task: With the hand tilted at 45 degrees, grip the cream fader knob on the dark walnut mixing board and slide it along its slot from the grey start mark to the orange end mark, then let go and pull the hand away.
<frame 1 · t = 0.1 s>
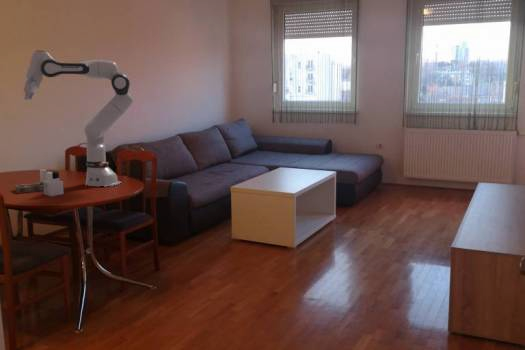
hand: (27, 99, 315), 52 cm above the table, tool tilted 20°, fingers open, 8 cm apart
mixing board: (35, 189, 311), on the table
fader: (43, 176, 313), point 7 cm above the table, slide at -5.0 cm
container: (53, 194, 300), on the table
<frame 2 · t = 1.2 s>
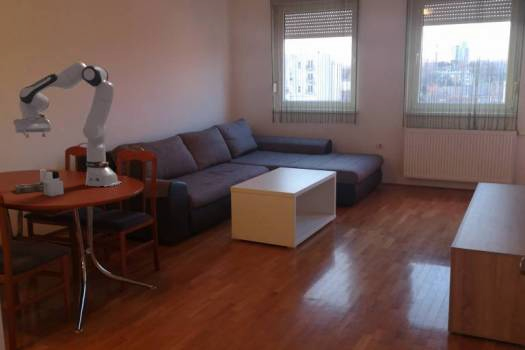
hand: (35, 136, 318), 30 cm above the table, tool tilted 45°, fingers open, 8 cm apart
nothing on the table moved.
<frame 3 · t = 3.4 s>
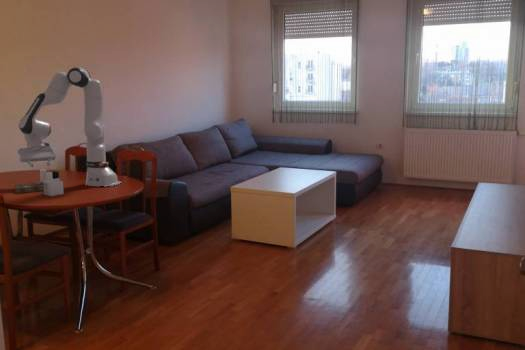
hand: (40, 165, 316), 13 cm above the table, tool tilted 45°, fingers open, 8 cm apart
nothing on the table moved.
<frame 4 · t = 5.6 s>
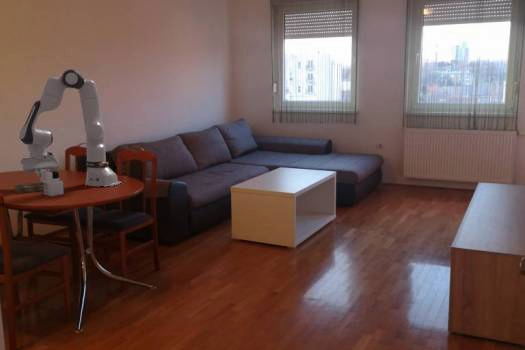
hand: (43, 175, 312), 8 cm above the table, tool tilted 45°, fingers closed on fader, 3 cm apart
fader: (43, 176, 313), point 7 cm above the table, slide at -5.0 cm, touching gripper
everything else where it was.
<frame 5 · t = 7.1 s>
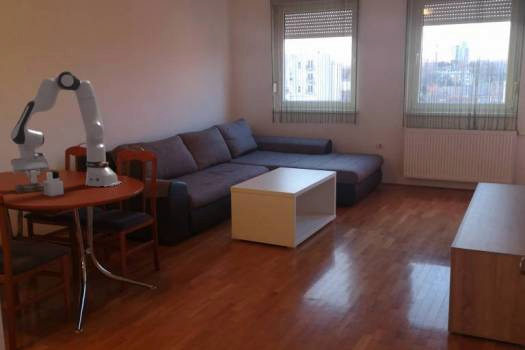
hand: (33, 176, 309), 8 cm above the table, tool tilted 45°, fingers closed on fader, 3 cm apart
fader: (33, 177, 309), point 7 cm above the table, slide at 0.5 cm, touching gripper
everything else where it was.
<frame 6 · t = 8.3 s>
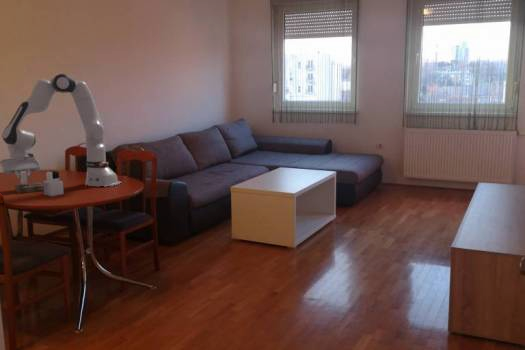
hand: (23, 177, 306), 8 cm above the table, tool tilted 45°, fingers closed on fader, 3 cm apart
fader: (23, 178, 306), point 7 cm above the table, slide at 5.9 cm, touching gripper
everything else where it was.
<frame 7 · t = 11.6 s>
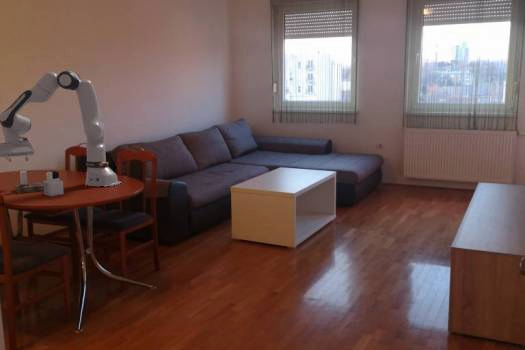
hand: (18, 160, 312), 16 cm above the table, tool tilted 45°, fingers open, 8 cm apart
fader: (23, 178, 306), point 7 cm above the table, slide at 5.9 cm
everything else where it was.
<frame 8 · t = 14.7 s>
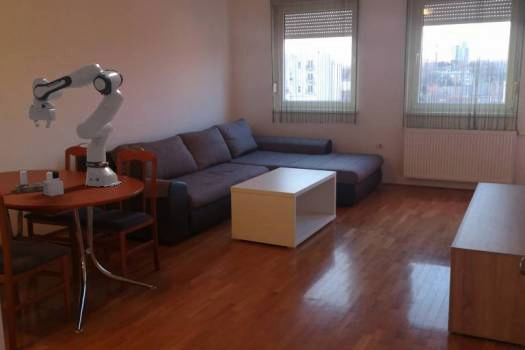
hand: (42, 127, 330), 34 cm above the table, tool pointing down, fingers open, 8 cm apart
nothing on the table moved.
at the end: fader slide at 5.9 cm; the gripper is holding nothing; container moved 0.2 cm from its start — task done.
